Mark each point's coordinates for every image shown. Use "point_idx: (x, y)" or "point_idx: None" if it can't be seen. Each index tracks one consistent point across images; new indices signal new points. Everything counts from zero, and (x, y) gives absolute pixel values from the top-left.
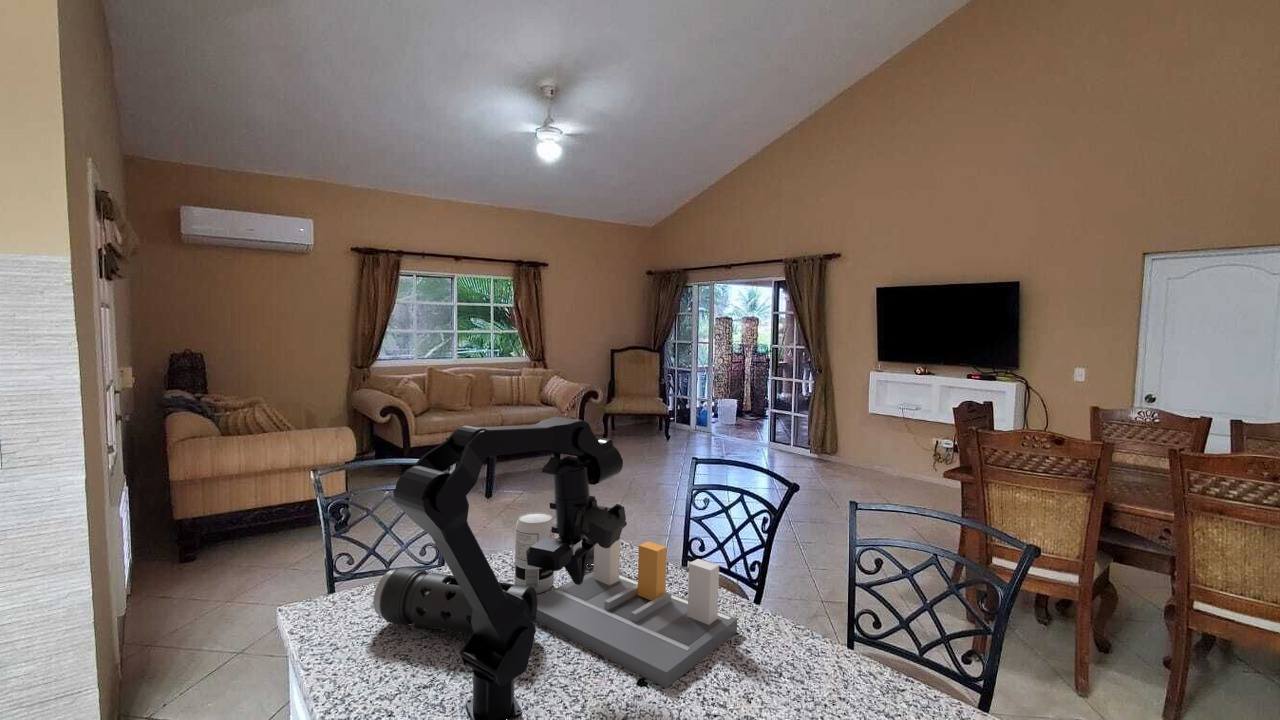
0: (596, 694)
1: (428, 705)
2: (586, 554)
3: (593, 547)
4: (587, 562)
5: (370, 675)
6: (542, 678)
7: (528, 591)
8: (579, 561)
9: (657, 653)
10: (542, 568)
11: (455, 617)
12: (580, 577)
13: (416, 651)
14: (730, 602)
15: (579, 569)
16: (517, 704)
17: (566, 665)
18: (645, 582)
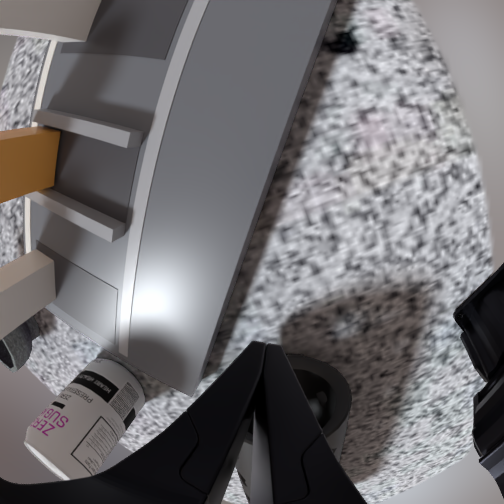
0: (425, 132)
1: (477, 390)
2: (191, 490)
3: None
4: (30, 320)
5: (413, 461)
6: (404, 271)
7: (251, 435)
8: (323, 494)
9: (265, 15)
10: (102, 398)
11: None
12: (282, 374)
13: (357, 455)
14: (22, 46)
15: (309, 429)
16: (494, 278)
17: (344, 240)
18: (27, 170)
